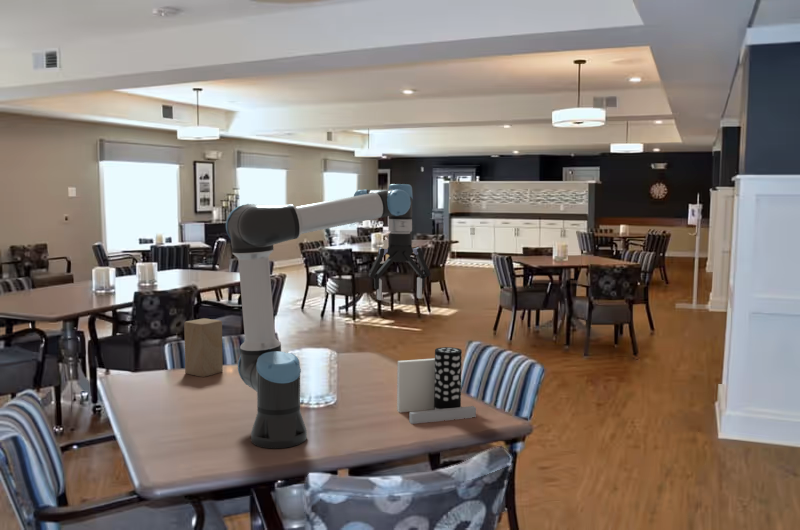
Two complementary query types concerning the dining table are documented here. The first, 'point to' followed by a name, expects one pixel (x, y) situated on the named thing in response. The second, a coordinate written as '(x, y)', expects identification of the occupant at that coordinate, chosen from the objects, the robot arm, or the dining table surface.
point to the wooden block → (203, 347)
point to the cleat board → (423, 393)
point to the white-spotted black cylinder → (447, 378)
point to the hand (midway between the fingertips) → (399, 298)
